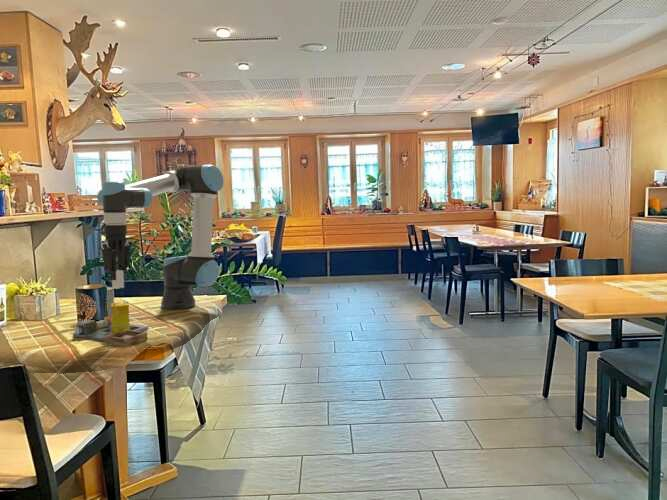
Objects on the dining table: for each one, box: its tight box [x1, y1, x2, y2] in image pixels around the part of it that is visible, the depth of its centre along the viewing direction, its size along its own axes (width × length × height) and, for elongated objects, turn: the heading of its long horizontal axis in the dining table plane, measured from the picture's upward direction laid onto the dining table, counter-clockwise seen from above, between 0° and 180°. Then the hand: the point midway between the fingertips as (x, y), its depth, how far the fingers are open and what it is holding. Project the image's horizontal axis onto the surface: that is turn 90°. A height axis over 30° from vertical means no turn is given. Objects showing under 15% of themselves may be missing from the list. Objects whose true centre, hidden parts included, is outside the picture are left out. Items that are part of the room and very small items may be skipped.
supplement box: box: [111, 301, 131, 333], centre depth 185 cm, size 6×6×11 cm
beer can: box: [106, 286, 115, 318], centre depth 208 cm, size 10×10×12 cm
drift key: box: [74, 317, 112, 334], centre depth 184 cm, size 14×3×3 cm, turn 156°
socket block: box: [72, 319, 149, 342], centre depth 184 cm, size 18×18×5 cm
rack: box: [104, 329, 148, 348], centre depth 173 cm, size 10×10×3 cm
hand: (118, 287), depth 184 cm, fingers open, 1 cm apart
